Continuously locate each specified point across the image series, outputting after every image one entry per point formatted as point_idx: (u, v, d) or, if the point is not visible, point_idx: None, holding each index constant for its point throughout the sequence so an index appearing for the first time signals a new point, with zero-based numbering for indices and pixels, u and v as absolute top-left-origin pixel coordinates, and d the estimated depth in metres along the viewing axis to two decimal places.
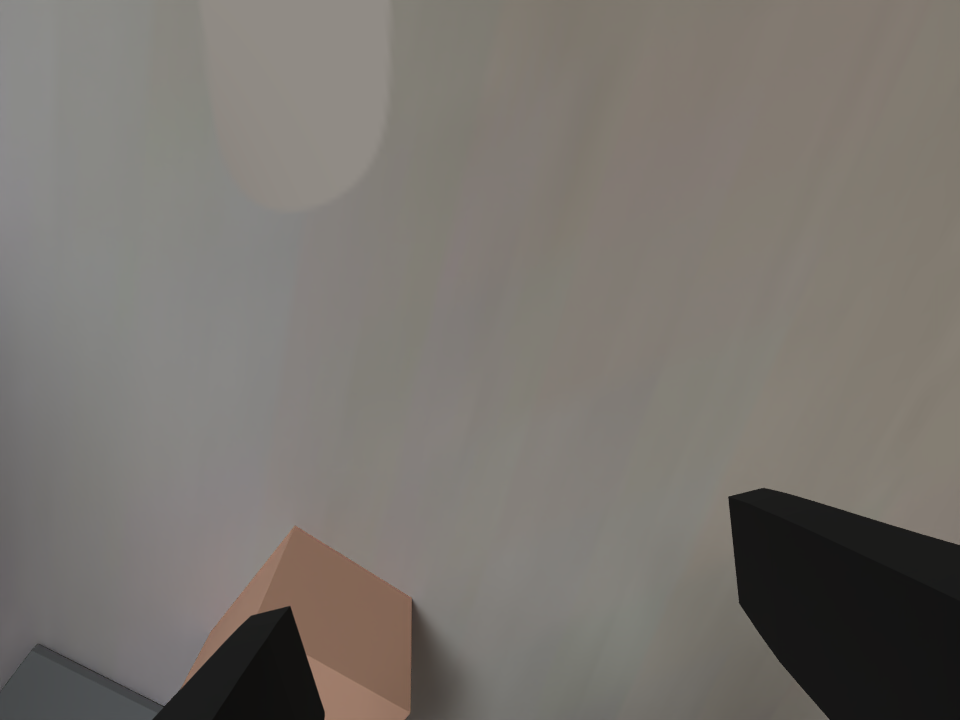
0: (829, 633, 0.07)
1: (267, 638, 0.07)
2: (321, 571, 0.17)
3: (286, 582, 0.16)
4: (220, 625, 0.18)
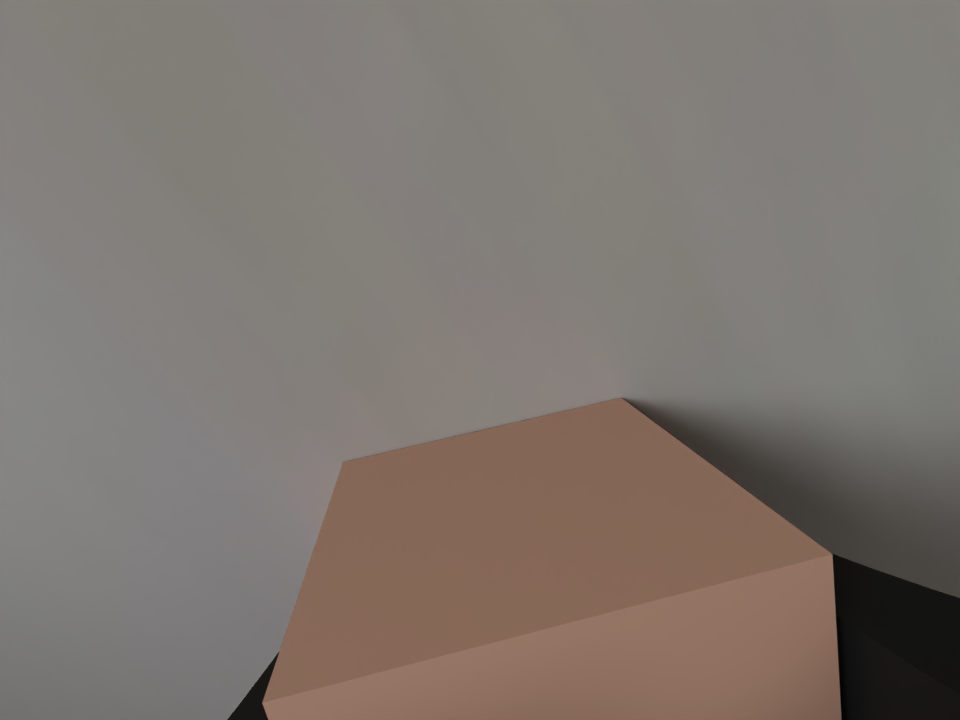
0: None
1: None
2: (423, 482, 0.08)
3: (348, 547, 0.06)
4: None
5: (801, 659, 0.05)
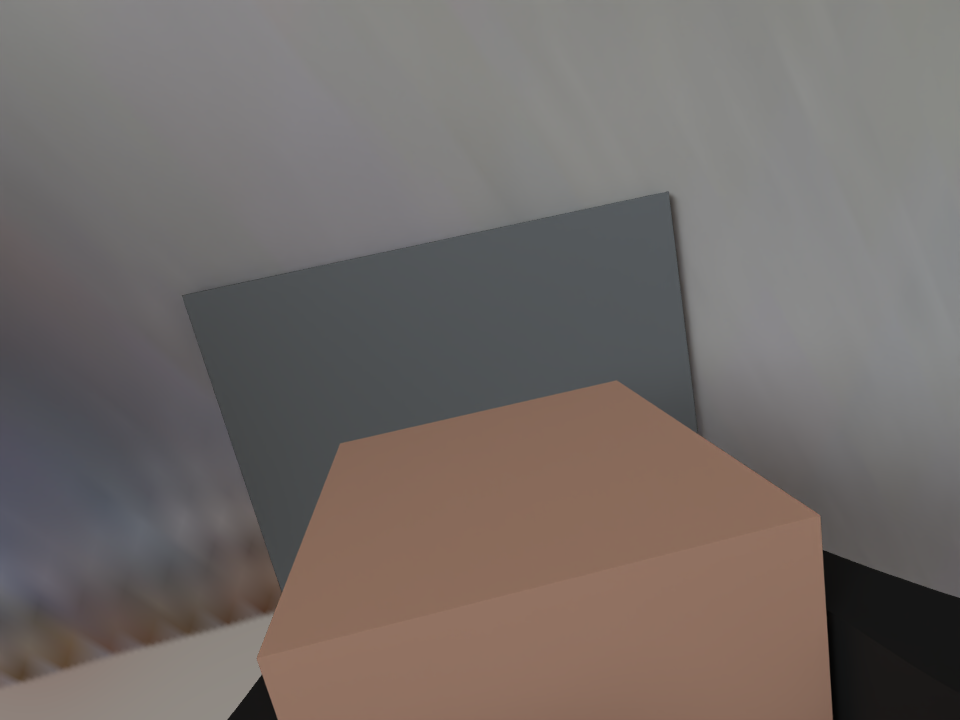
0: None
1: None
2: (419, 459, 0.08)
3: (343, 519, 0.07)
4: None
5: (790, 620, 0.05)
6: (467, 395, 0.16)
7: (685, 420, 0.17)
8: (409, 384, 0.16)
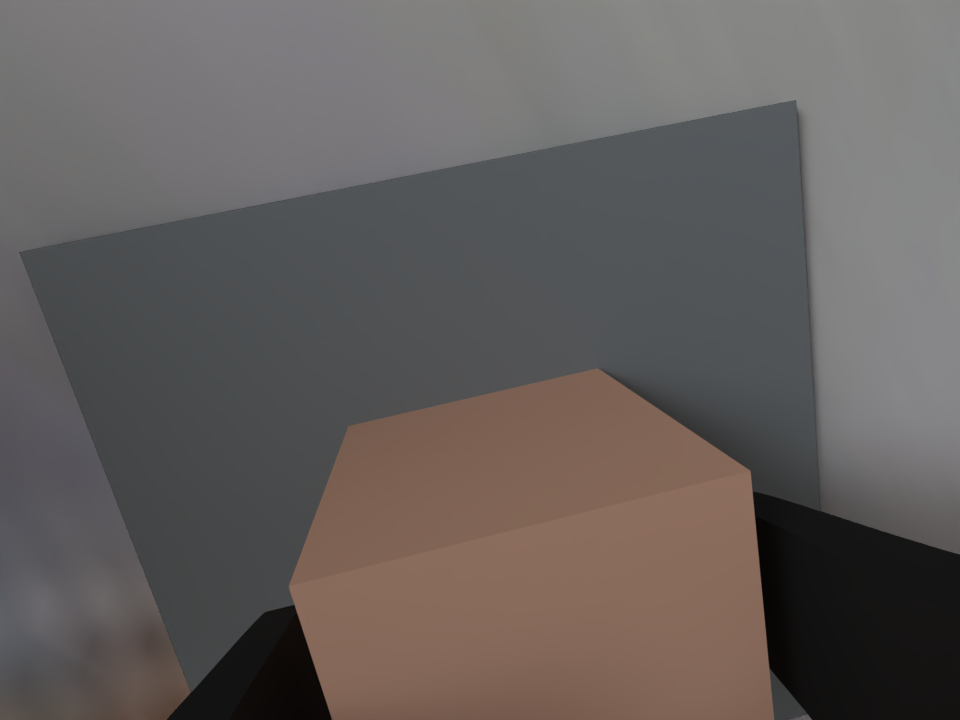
0: (815, 637, 0.07)
1: (282, 634, 0.07)
2: (419, 437, 0.09)
3: (354, 486, 0.08)
4: None
5: (728, 558, 0.06)
6: None
7: (801, 452, 0.12)
8: (390, 397, 0.10)
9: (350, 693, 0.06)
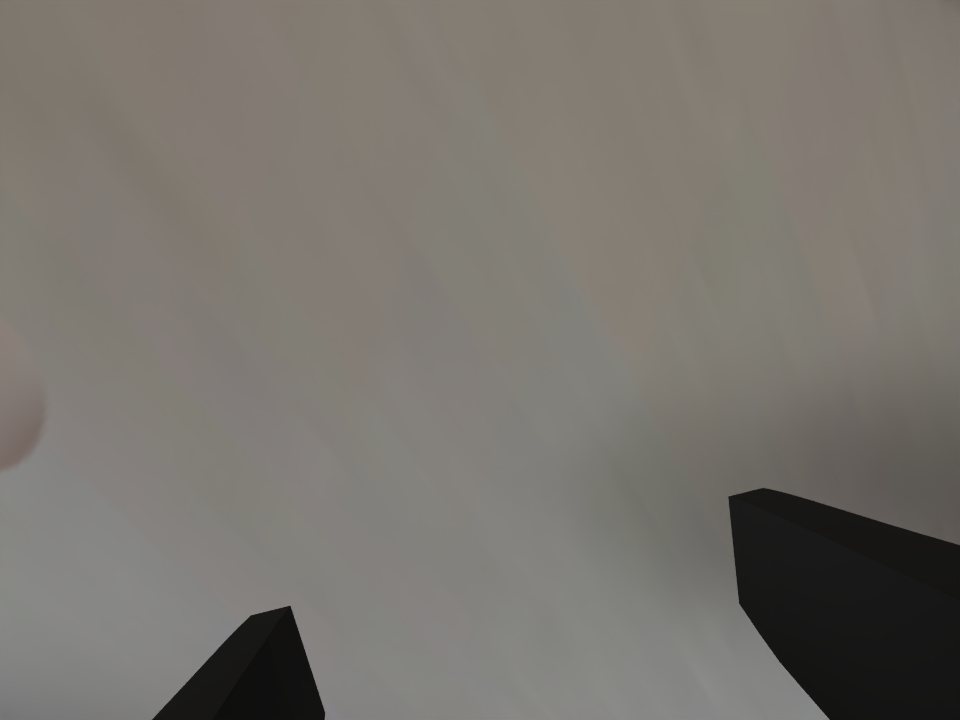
0: (829, 633, 0.07)
1: (267, 638, 0.07)
2: None
3: None
4: None
5: None
6: None
7: None
8: None
9: None
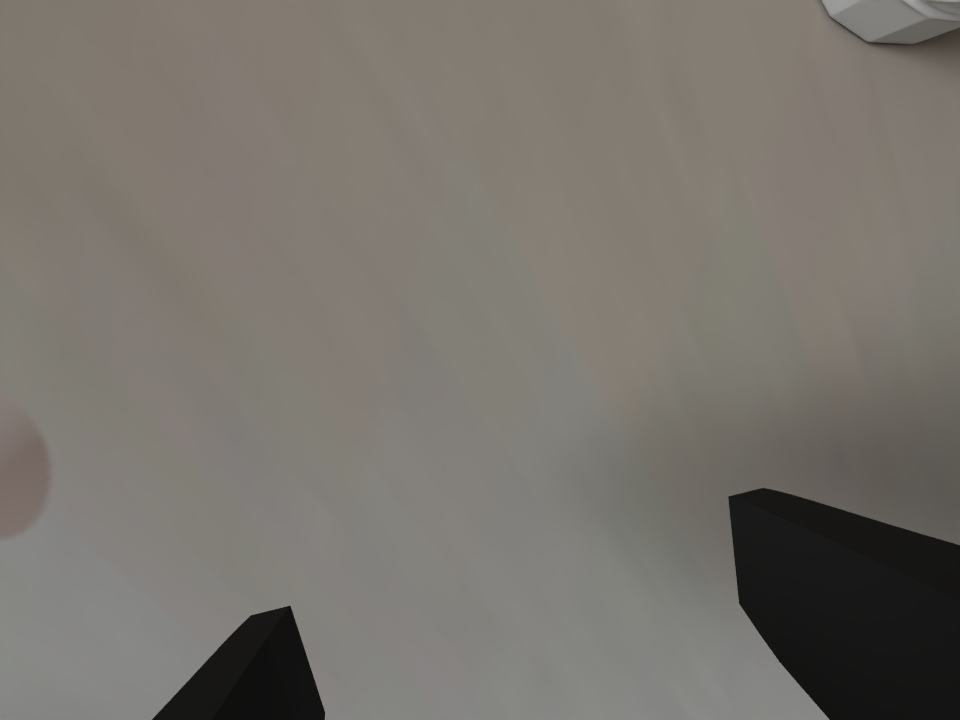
0: (829, 633, 0.07)
1: (267, 638, 0.07)
2: None
3: None
4: None
5: None
6: None
7: None
8: None
9: None
